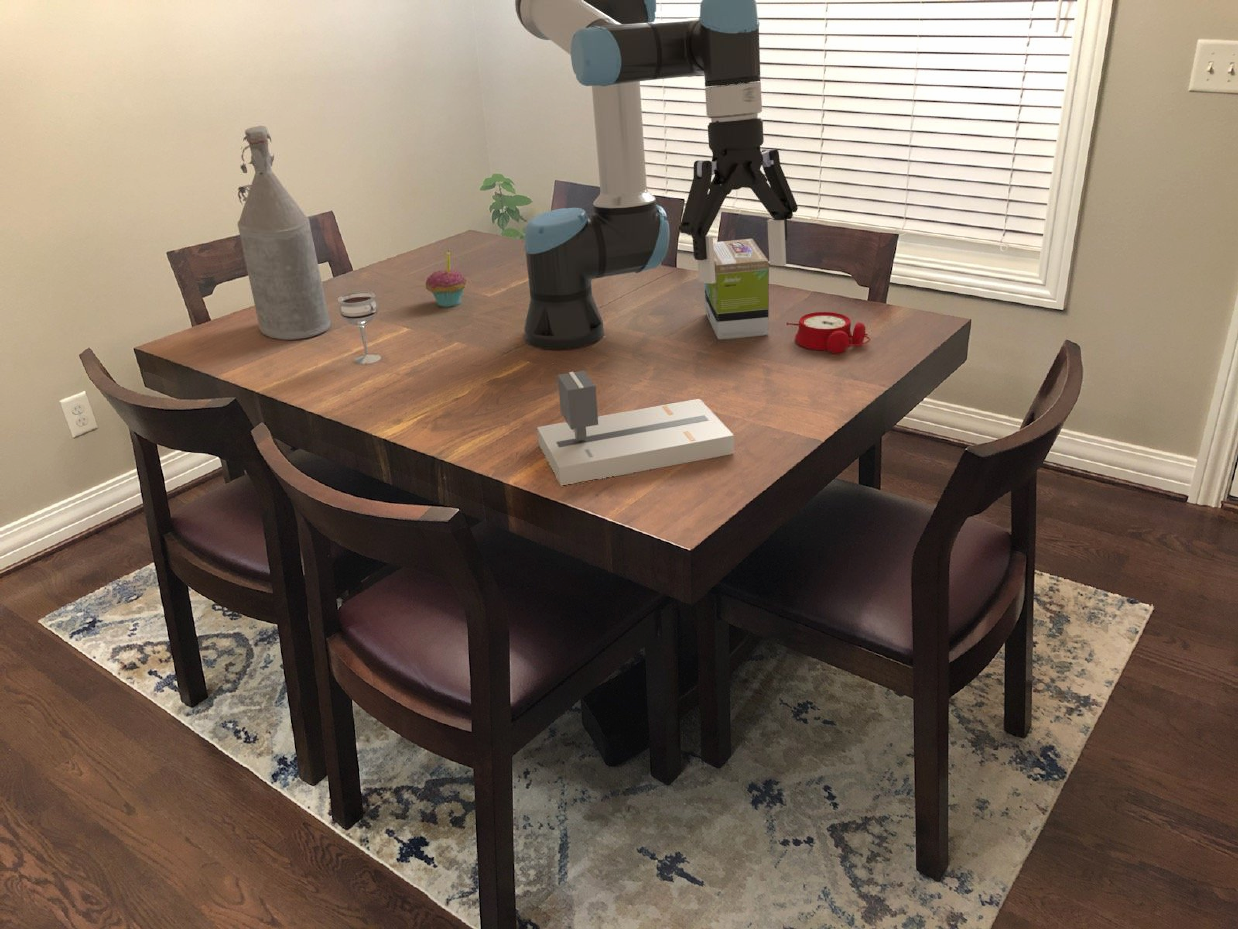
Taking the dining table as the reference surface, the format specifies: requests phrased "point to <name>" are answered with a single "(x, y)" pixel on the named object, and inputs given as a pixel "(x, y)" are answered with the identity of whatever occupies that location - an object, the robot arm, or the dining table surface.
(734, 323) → the tea box
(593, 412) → the fader knob
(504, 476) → the dining table surface
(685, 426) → the console
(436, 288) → the cupcake
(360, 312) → the wineglass
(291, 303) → the stoneware bottle
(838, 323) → the alarm clock
